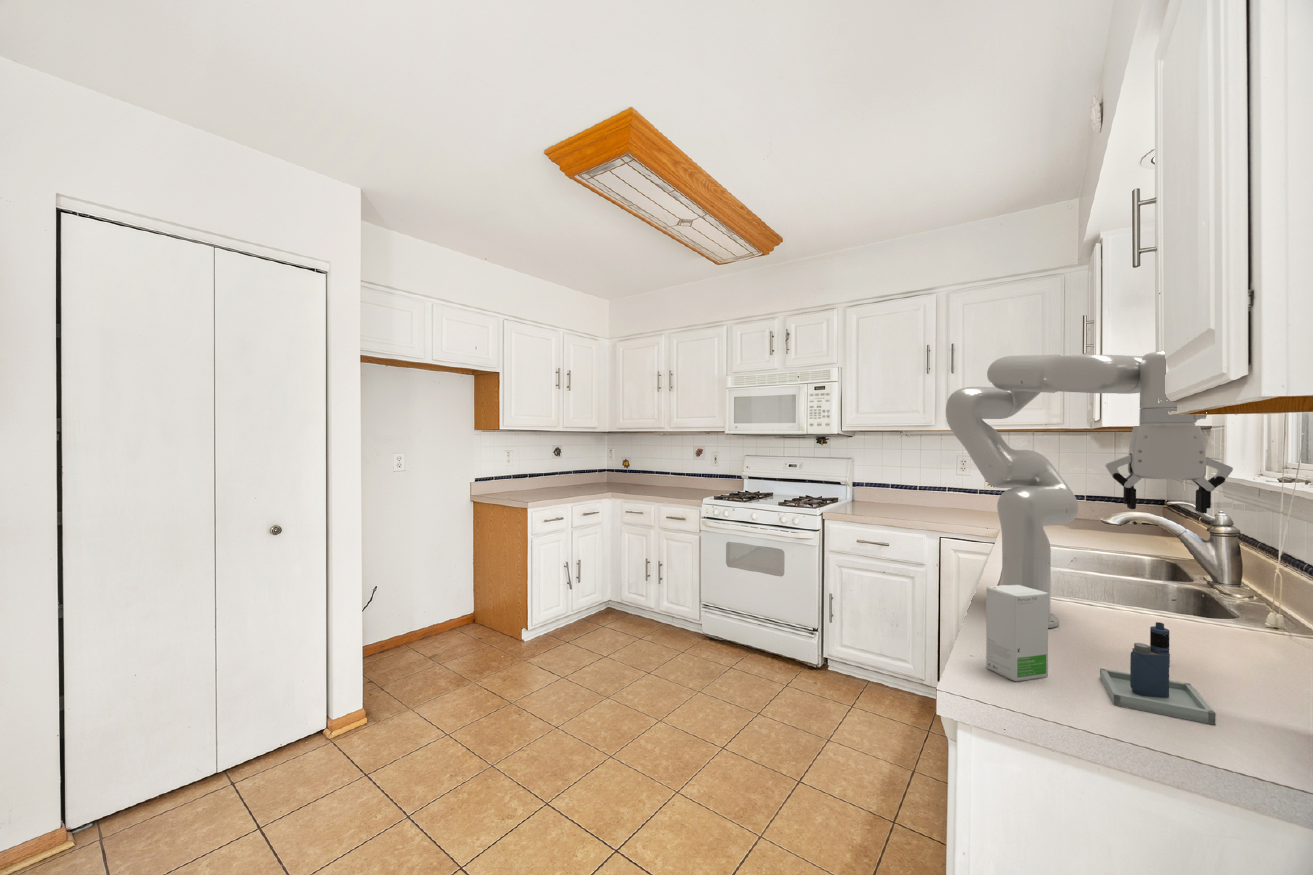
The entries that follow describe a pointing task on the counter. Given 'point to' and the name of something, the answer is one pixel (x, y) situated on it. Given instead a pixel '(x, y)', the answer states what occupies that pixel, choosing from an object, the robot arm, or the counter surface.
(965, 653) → the counter surface
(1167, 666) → the vaping device
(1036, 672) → the skincare box
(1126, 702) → the tray
